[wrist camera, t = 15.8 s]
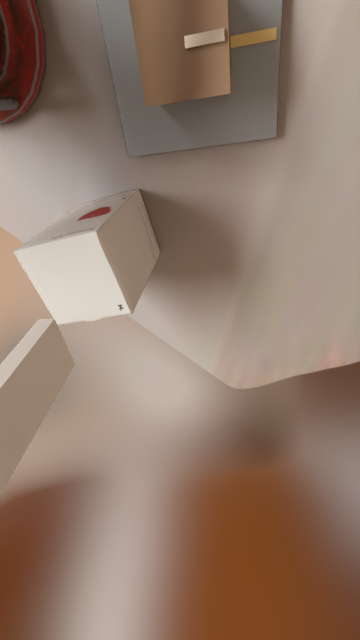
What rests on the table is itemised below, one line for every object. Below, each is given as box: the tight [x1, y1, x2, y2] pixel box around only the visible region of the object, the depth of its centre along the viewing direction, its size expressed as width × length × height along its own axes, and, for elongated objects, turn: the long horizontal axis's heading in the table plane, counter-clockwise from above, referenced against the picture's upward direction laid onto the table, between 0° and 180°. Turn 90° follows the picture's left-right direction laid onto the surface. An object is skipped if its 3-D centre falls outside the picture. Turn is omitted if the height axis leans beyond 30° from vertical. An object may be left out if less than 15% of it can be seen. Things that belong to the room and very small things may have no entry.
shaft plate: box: [96, 0, 282, 157], centre depth 27 cm, size 16×16×5 cm
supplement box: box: [14, 189, 160, 325], centre depth 35 cm, size 9×9×15 cm
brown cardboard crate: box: [129, 0, 232, 107], centre depth 26 cm, size 7×7×6 cm
